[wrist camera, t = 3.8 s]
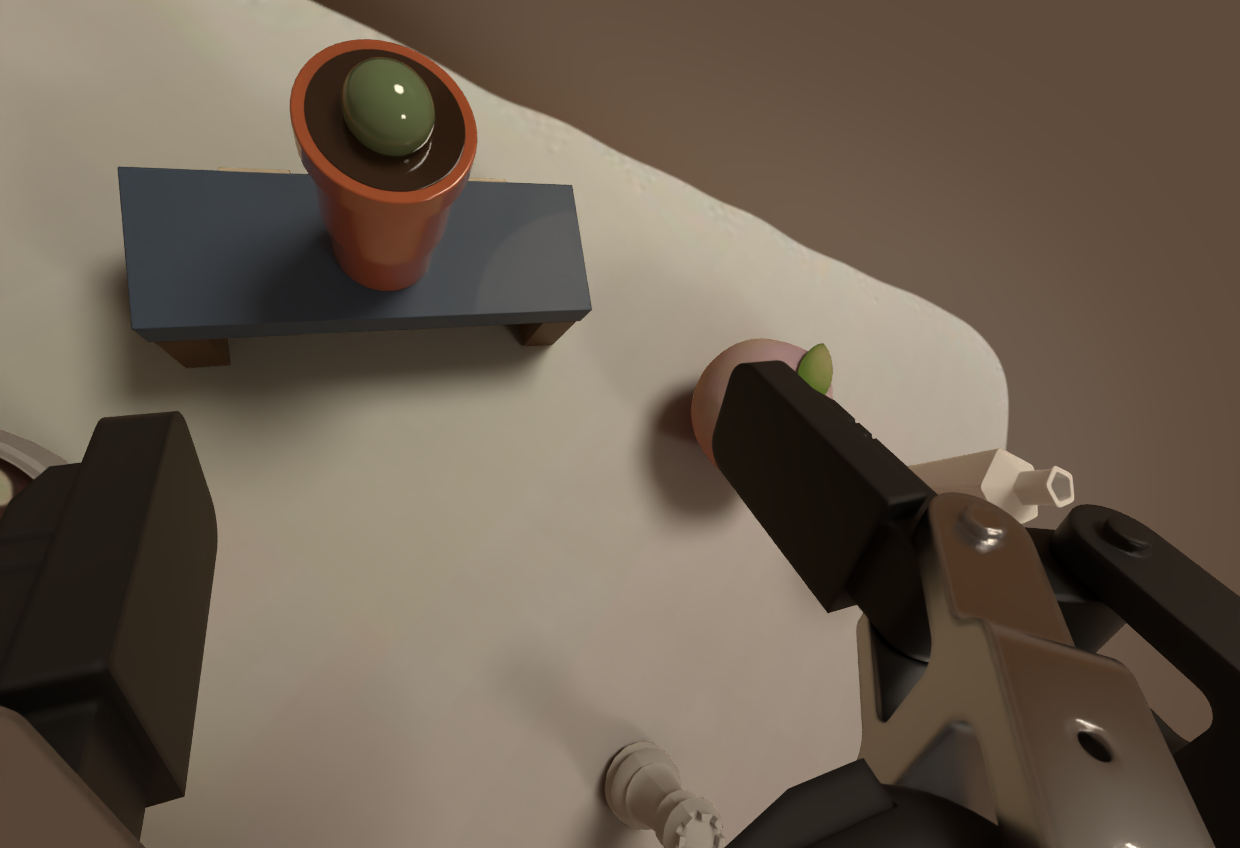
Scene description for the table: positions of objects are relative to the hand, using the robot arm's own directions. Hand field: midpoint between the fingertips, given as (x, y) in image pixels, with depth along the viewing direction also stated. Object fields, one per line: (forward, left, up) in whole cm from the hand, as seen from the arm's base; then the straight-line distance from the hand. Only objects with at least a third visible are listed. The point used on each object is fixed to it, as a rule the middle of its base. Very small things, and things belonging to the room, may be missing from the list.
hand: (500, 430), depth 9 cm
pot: (-2, +11, -20) cm, 23 cm away
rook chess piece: (+14, -17, -28) cm, 35 cm away
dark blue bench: (-2, +11, -27) cm, 30 cm away
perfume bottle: (+32, 0, -27) cm, 42 cm away
